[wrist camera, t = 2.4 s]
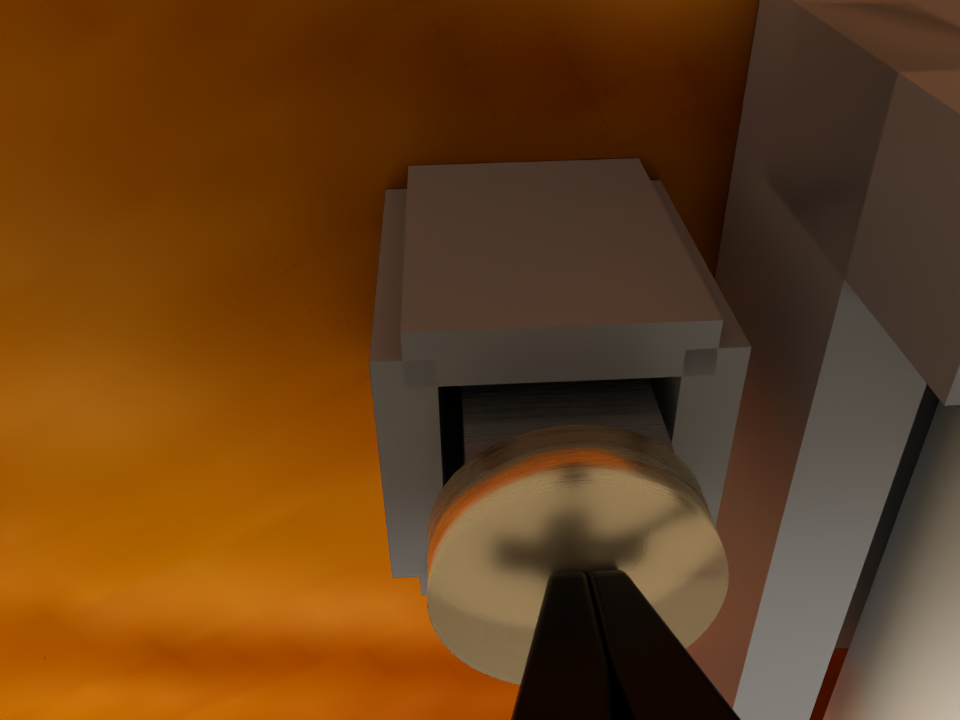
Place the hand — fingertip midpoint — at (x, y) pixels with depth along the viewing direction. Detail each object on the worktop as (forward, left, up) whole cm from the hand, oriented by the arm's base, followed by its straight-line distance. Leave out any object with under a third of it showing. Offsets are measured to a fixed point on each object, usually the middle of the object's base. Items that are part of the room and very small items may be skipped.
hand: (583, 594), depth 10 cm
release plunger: (0, 0, -6) cm, 6 cm away
